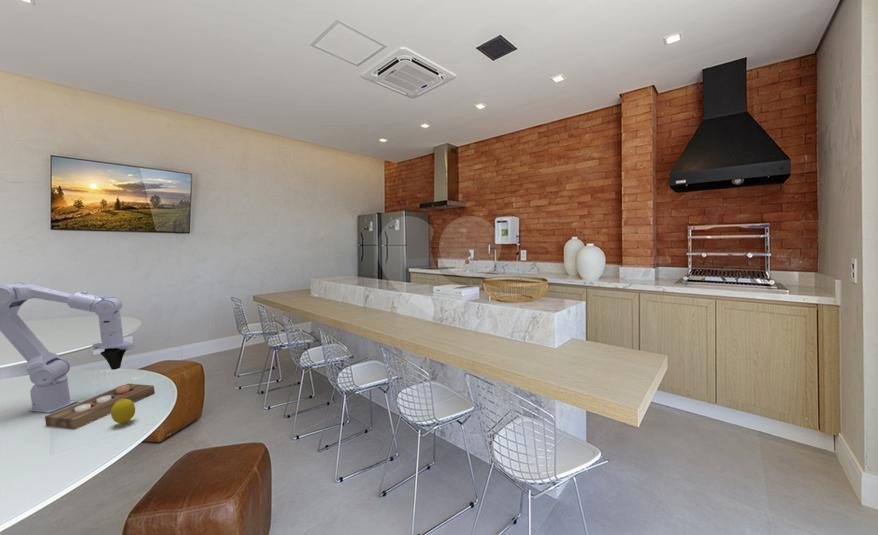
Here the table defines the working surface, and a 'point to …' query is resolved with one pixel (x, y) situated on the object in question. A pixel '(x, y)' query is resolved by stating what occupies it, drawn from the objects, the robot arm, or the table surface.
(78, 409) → the grey plug right
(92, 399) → the walnut board
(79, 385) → the table surface
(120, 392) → the terracotta plug
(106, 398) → the grey plug middle
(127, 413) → the lemon
